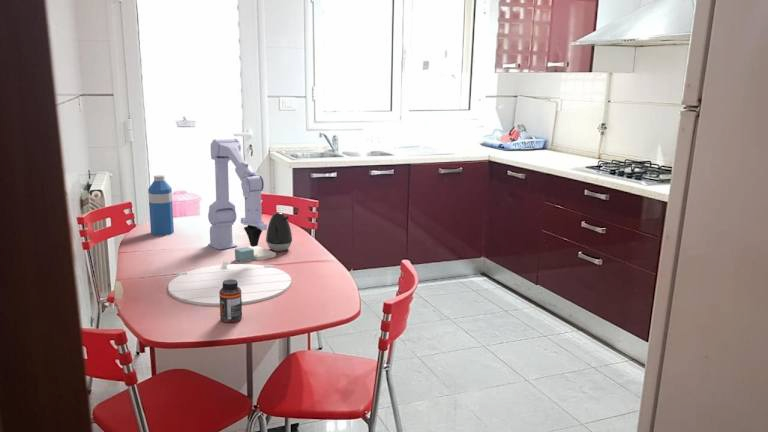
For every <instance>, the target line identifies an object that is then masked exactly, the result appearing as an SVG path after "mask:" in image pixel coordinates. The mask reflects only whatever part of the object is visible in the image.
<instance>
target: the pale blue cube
mask: <svg viewBox="0 0 768 432" xmlns="http://www.w3.org/2000/svg"><path fill="white" fill-rule="evenodd" d="M234 259H235V261H239V262H240V263H244V262H250V261H255V259H254V249H251V248H249V247H246V246H242V248H241V247H237V248H235V249H234Z"/></svg>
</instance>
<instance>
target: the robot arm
mask: <svg viewBox="0 0 768 432" xmlns="http://www.w3.org/2000/svg"><path fill="white" fill-rule="evenodd" d="M241 146H242V145H241V142H240V140H239V139H238V138H230V139H229V138H228V139H225V138H224V139H212V141H211V143H210V158H211V160H213V161H214V171H215V172H214V174H215V179H214V180H215V201H213V202H212V203H211V204H209V207H208V214H207V217H208V221H209V223H210V224H211V226H210V228H209V242H210V243H208V244H207V245H208V246H210V247H212V248H215V249H216V250H219V251H220V250H224V249H230V248H235V247H237V248H238V245H237V244H235V243H234V242H233V240H234V239H233V226H234V225H235V223H236V220H237V216H238V215H237V211H236V205H235V204H234V203H233V202H231V201H230V192H229V190H230V188H229V186H230V185H229V162H230V161H231V163H232V164H233V165H234V167H235V169H234V171H235V173H236V176H238V178H239V180H240V182H241V183H240V185H241V190H242V196H243V198H244V214H245V215H244V217H240V224H242V225H244V227H243V230H244V232H245V233H246V235H247V238H248V241H249V244H250V245H249V246H252V247H254V246H259V245H258V244H259V241H260V237H261V234H262V232H263V231H267V229H268V224H266V223H264V221H263V220H262V191H264V188H265V183H264V179H263V176H262V175H261V174H257V173H256V172H255V170H254V168H253V167H252V165H251V164H250V163H249V162H247V161H245V159H244V157H243V155H242V153H241V149H242V147H241Z"/></svg>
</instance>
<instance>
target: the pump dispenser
mask: <svg viewBox="0 0 768 432" xmlns="http://www.w3.org/2000/svg"><path fill="white" fill-rule="evenodd" d="M289 219H290V217H289V216H286V215H285V214H284V213H283V212H281V211H277V212H275V213H273V214H272V216H271V218H270V219H269V223H268V224H267V230H266V234H265V235H266V237H265V243H266V244H267V246H268V248H269V249H270V251H272V252H284V251H286V250H288V249H289V248H290V247H291V244H292V242H293V233H292V229H291V225H290V222H289Z"/></svg>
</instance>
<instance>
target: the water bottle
mask: <svg viewBox="0 0 768 432" xmlns="http://www.w3.org/2000/svg"><path fill="white" fill-rule="evenodd" d="M147 191H148V192H147V194H148V206H149V207H148V209H149V221H150V223H149V224H150V226H149V227H150V235H152V236H156V237H157V236H159V237H160V236H162V237H163V236H169V235H172V234H173V233H174V232H175V229H174V228H175V227H174V208H173V191H172V187H171V185H170V184H169V183H168V182H167V181H166V180H165V175H163V174H161V175H160V174H155V175H154V176H153V181H152V183H151V185H149V187H148V189H147Z"/></svg>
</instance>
